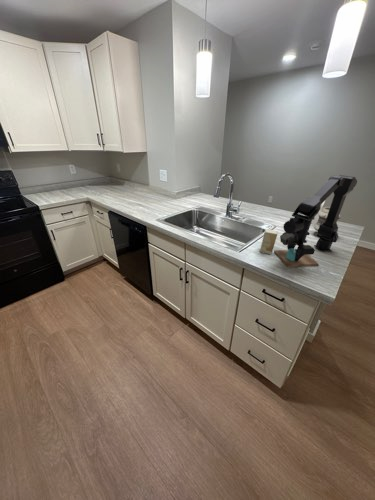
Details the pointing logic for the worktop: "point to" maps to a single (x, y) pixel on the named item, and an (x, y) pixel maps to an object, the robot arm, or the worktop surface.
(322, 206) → the milk carton
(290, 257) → the cap
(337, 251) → the worktop surface
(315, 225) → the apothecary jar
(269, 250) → the skincare box
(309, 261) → the walnut board
